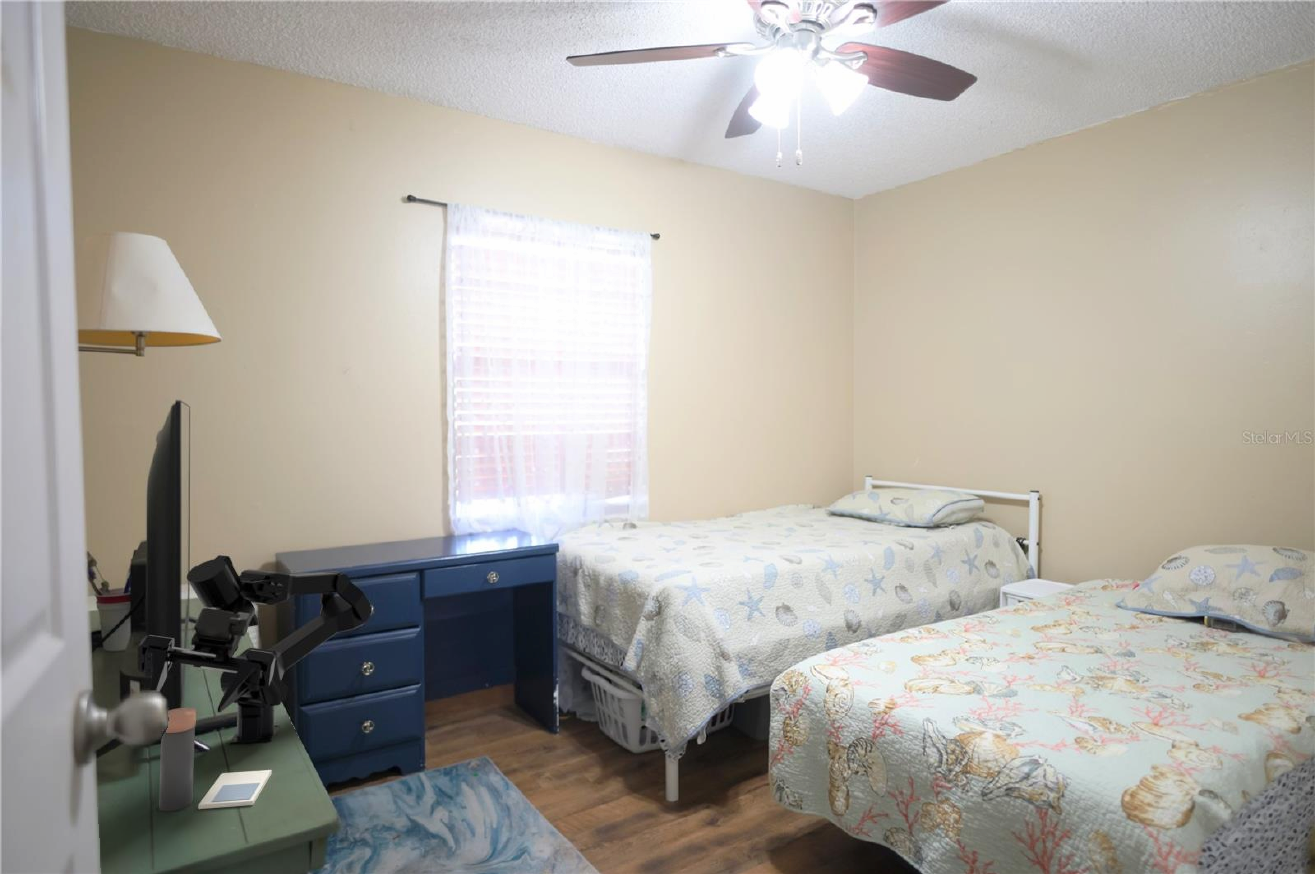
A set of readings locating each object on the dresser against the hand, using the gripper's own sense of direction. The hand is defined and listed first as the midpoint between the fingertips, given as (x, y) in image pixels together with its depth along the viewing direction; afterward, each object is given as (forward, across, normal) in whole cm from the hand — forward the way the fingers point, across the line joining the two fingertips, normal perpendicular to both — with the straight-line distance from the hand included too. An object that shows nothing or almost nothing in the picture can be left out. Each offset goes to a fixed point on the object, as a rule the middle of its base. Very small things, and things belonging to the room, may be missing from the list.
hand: (184, 706), depth 109 cm
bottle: (+9, +3, +9) cm, 13 cm away
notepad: (+6, +10, +9) cm, 15 cm away
